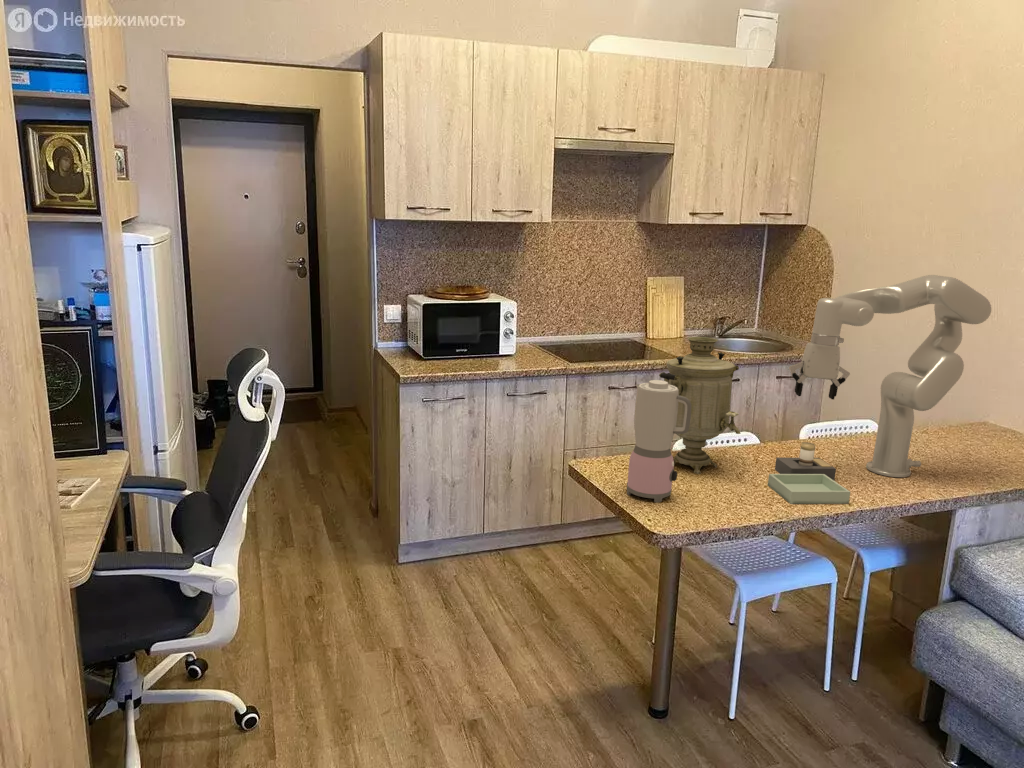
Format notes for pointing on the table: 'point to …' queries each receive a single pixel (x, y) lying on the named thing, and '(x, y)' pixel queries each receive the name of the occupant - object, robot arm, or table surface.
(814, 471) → the fuse block
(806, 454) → the fuse
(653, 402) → the blender
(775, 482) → the parts tray
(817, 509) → the table surface
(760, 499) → the table surface
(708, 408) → the samovar
